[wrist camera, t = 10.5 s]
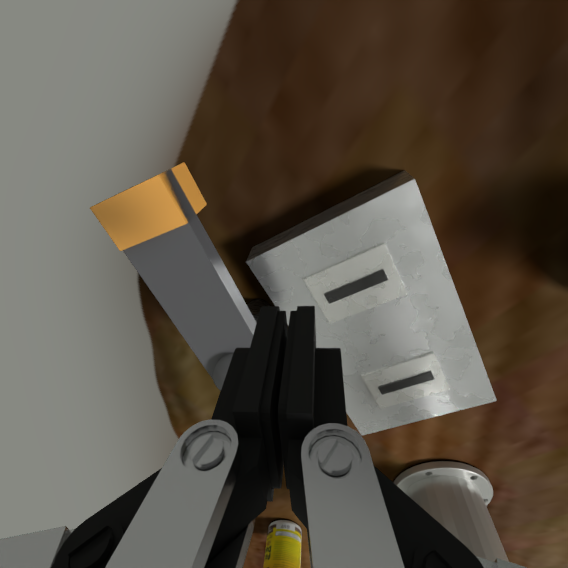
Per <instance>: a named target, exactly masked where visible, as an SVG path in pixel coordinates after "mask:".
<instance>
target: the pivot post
mask: <svg viewBox="0 0 568 568" xmlns="http://www.w3.org/2000/svg"><path fill="white" fill-rule="evenodd" d="M262 306H270V305H269V304H268V303H267V302H266V301H264V300H261V299H255V300H252V301H250V302H249V304H248V308H249V310H250V312H251V314H252V315H253V317H254V319H255V321H256V323H257V320H258V316H259V313H260V309H261V307H262Z"/></svg>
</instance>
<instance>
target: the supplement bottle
mask: <svg viewBox="0 0 568 568" xmlns="http://www.w3.org/2000/svg"><path fill="white" fill-rule="evenodd" d="M301 537H302V531H301V528H300V527H299V526H298V525H297V524H296V523H294V522H292V521H288V520H277V521H274V522H272V523H271V524H270V525H269V528H268V534H267V543H266V551H265V559H264V567H263V568H300V562H301Z"/></svg>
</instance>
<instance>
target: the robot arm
mask: <svg viewBox="0 0 568 568" xmlns="http://www.w3.org/2000/svg"><path fill="white" fill-rule="evenodd" d="M283 465H284V470H285V478H286V486H287V489H290V498H291V506H292V511H293V512H294V513H295V515H296V516H297V517H298V518H299V520H300V521H301V522H302V523H303V525H304V526H305V527H306V528H307V535H308V545H309V554H310V564H311V568H526V567H523V566H520V565H517V564H514V563H511V562H509V561H508V558H507V556H506V553H505V551H504V548H503V546H502V544H501V541H500V539H499V536H498V534H497V531H496V529H495V526H494V524H493V522H492V519H491V517H490V514H489V512H488V509H487V507H486V506H487V505H488V503H489V502H490V501H491V499H492V497H493V489H492V486H491V483H490V481H489V479H488V477H487V476H486V475H485V474H484V473H483V472H481V471H480V470H479V469H477V468H475V467H472V466H470V465H467V464H463V463H459V462H452V461H436V462H428V463H423V464H420V465H416V466H413V467H411V468H409V469H407V470H405V471H404V472H402V473H401V474H400V475H399V476H398V477H397V478H396V479H395V481H394V483H393V482H392V481H391V480H390V479H388V478H387V477H386V476H385V475H384V474H383V473H382V472H380V471H379V470H378V469H377V468H376V467H375V466H374V465H373V462H372V459H371V456H370V452H369V449H368V447H367V445H366V443H365V441H364V439H363V438H362V437H361V436H360V435H359V434H358V432H356V431H355V430H353V429H352V428H350V427H348V426H347V417H346V405H345V393H344V382H343V370H342V359H341V349H340V348H316V325H315V306H297V311H291V312H290V319H289V327H288V329H287V317H286V311H280V308H279V306H262V307H261V309H260V313H259V316H258V320H257V324H256V327H255V331H254V335H253V338H252V342H251V346H250V348H236V349H235V351H234V353H233V356H232V359H231V362H230V365H229V368H228V371H227V374H226V377H225V380H224V383H223V386H222V389H221V392H220V395H219V398H218V401H217V404H216V407H215V410H214V413H213V416H212V419H211V420H206V421H202V422H199V423H197V424H195V425H193V426H191V427H190V428H189V429H188V430H187V431H185V432H184V433H183V434H182V436H181V437H180V438H179V440H178V441H177V443H176V445H175V446H174V448H173V450H172V452H171V453H170V455H169V457H168V459H167V460H166V462H165V464H164V466H163V467H162V468H161V469H160V470H159V471H157V472H156V473H154V474H152V475H151V476H150V477H148V478H147V479H145V480H144V481H142V482H141V483H139V484H138V485H137V486H135V487H134V488H132V489H131V490H129V491H128V492H126V493H125V494H123V495H122V496H120V497H119V498H117V499H116V500H115V501H113V502H112V503H110V504H109V505H107V506H106V507H104V508H103V509H101V510H100V511H98V512H97V513H96V514H94V515H93V516H91V517H90V518H88V519H87V520H85V521H84V522H83V523H82V524H81V525H79V526H78V527H77V528H76V529H72V530H69V529H68V528H67V527H66V526H64V527H59V528H54V529H49V530H44V531H39V532H34V533H29V534H24V535H19V536H14V537H9V538H4V539H0V568H243V565H244V561H245V558H246V554H247V550H248V547H249V543H250V540H251V536H252V533H253V529H254V524H255V518H256V517H257V516H258V515H259V514H260V513H262V512H263V511H264V510H265V509H266V504H267V501H273V492H274V488H281V485H282V475H283Z"/></svg>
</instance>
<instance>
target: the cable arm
mask: <svg viewBox="0 0 568 568" xmlns="http://www.w3.org/2000/svg"><path fill="white" fill-rule="evenodd" d="M206 205H207V204H206V202H205V200H204V198H203V196H202V194H201V192H200V191H199V189H198V187H197V185H196V183H195V181H194V179H193V177H192V176H191V174H190V172H189V170H188V168H187V166H186V164H185V162H184V163H182V164H180V165H177V166H175V167H173V168H171V169H169V170H167V171H165V172H163V173H161V174H159V175H156V176H154V177H152V178H150V179H148V180H146V181H144V182H142V183H140V184H138V185H135V186H133V187H131V188H129V189H127V190H125V191H123V192H121V193H119V194H117V195H115V196H113V197H111V198H108V199H107V200H104V201H102V202H100V203H98V204H96V205H94V206H92V207H90V209H91V210H92V212H93V213H94V215H95V216H96V217H97V219H98V220H99V222H100V223H101V225H102V226H103V227H104V229H105V230H106V232H107V233H108V234H109V236H110V237H111V239H112V240H113V242H114V243H115V244H116V246H117V247H118V249H119V250H120V251H122V250H123V251H124V253H125V254H126V256H127V257H128V258H129V260H130V261H131V263H132V264H133V265H134V267H135V269H136V270H137V271H138V273H139V274H140V276H141V277H142V279H143V280H144V281H145V283H146V284H147V286H148V287H149V289H150V290H151V291H152V293H153V294H154V296H155V297H156V299H157V300H158V301H159V303H160V304H161V306H162V307H163V309H164V310H165V311H166V313H167V314H168V316H169V317H170V319H171V320H172V322H173V323H174V324H175V326H176V327H177V329H178V330H179V332H180V333H181V334H182V336H183V337H184V339H185V340H186V342H187V343H188V344H189V346H190V347H191V349H192V350H193V352H194V353H195V354H196V356H197V357H198V359H199V360H200V362H201V363H202V365H203V366H204V367H205V369H206V370H207V372H208V373H209V375H210V376H211V377H212V379H213V380H214V383H215V385H216V386H217V388H218V389H219V390H220V391H221V389H222V386H223V383H224V380H225V377H226V374H227V371H228V368H229V365H230V362H231V359H232V356H233V353H234V351H235V349H236V348H250V346H251V342H252V338H253V335H254V331H255V327H256V324H257V323H256V321H255V319H254V317H253V315H252V314H251V312H250V310H249V308H248V306H247V305H246V303H245V301H244V299H243V297H242V296H241V294H240V292H239V290H238V288H237V287H236V285H235V283H234V281H233V279H232V278H231V276H230V274H229V272H228V270H227V269H226V267H225V265H224V263H223V261H222V260H221V258H220V256H219V254H218V252H217V251H216V249H215V247H214V245H213V243H212V242H211V240H210V238H209V236H208V234H207V233H206V231H205V229H204V227H203V226H202V224H201V222H200V220H199V218H198V217H197V215H196V214H197V213H198V212H199V211H200V210H201V209H203V208H204V207H205V206H206Z"/></svg>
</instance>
